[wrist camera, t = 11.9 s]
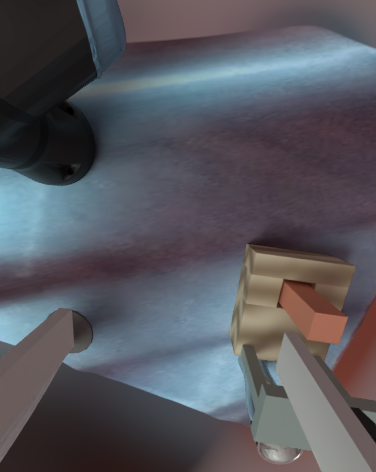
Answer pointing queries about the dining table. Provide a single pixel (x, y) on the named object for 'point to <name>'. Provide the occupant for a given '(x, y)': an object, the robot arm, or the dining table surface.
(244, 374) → the beer glass
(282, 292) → the peg
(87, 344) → the cup
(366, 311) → the dining table surface
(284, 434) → the grey toy table
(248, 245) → the socket block
